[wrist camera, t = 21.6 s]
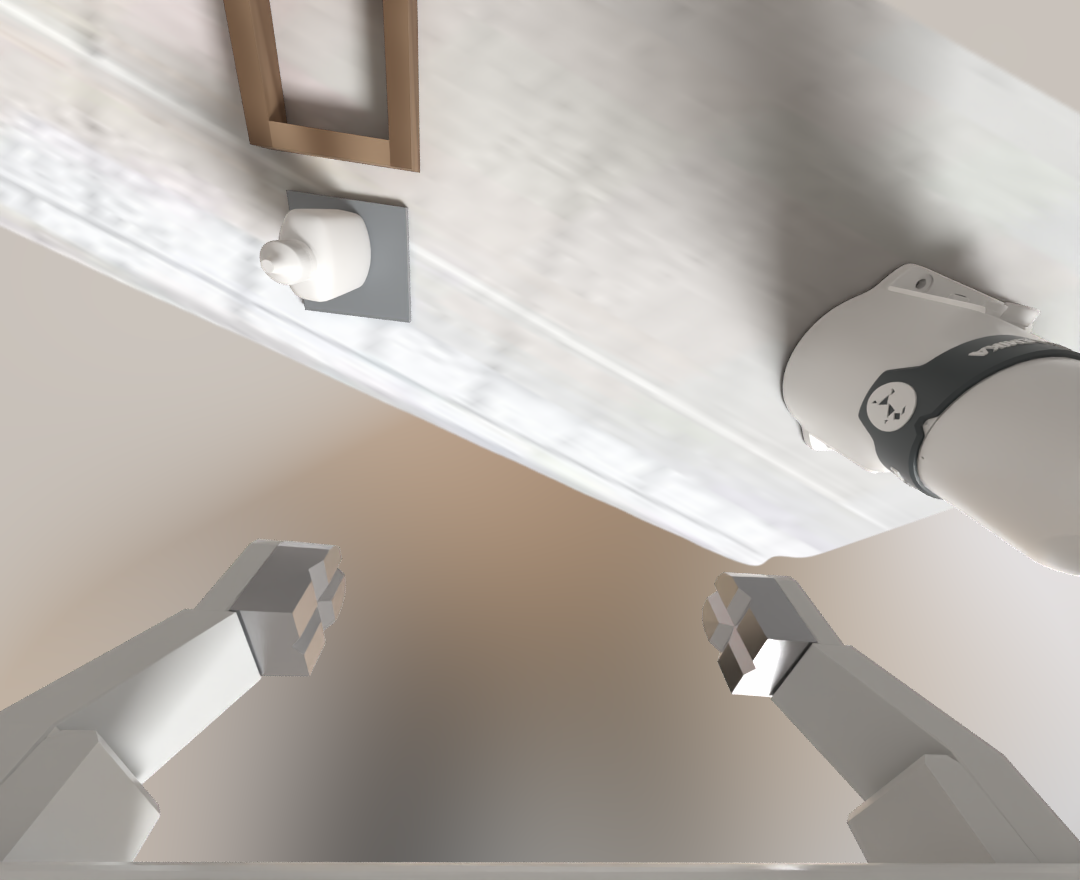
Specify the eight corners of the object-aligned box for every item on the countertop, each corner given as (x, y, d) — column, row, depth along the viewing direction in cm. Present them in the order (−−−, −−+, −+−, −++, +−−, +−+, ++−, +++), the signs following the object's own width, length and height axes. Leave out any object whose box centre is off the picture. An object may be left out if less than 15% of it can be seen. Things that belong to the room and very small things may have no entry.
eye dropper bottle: (309, 258, 33) (208, 279, 22) (342, 199, 31) (248, 191, 20) (357, 294, 34) (284, 330, 24) (391, 240, 32) (327, 252, 22)
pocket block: (416, -34, 25) (406, -57, 23) (419, 172, 31) (411, 169, 28) (233, -70, 24) (205, -99, 22) (270, 149, 30) (249, 144, 27)
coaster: (407, 207, 32) (405, 207, 31) (411, 321, 36) (409, 322, 36) (290, 190, 31) (286, 189, 30) (308, 308, 35) (305, 309, 35)
